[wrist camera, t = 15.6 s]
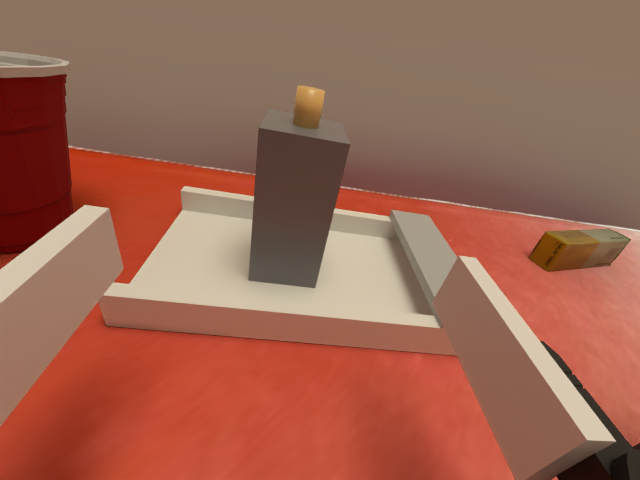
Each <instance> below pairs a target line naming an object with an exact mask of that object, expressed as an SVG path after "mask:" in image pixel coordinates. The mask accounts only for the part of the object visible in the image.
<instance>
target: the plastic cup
mask: <svg viewBox="0 0 640 480" xmlns="http://www.w3.org/2000/svg"><path fill="white" fill-rule="evenodd" d="M69 70H70V62H67V61H64V60H60V59H56V58H50V57H44V56H38V55H31V54H22V53H13V52H5V51H0V253H12V252H20V251H25V250H26V249H28V248H29V247H30V246H32V245H33V244H34V243H36V242H37V241H38V240H40V239H41V238H42V237H43V236H45V235H46V234H47V233H49V232H50V231H51V230H53V229H54V228H55V227H57V226H58V225H59V224H60V223H62V222H63V221H64V220H66V219H67V218H68V217H70V216H71V215H72V214H73V209H72V199H71V185H72V182H71V171H70V160H69V150H68V140H67V128H66V117H65V113H66V103H65V96H66V89H65V83H66V76H67V75H66V74H67V73H68V72H69Z"/></svg>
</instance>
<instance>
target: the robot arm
mask: <svg viewBox="0 0 640 480" xmlns="http://www.w3.org/2000/svg"><path fill="white" fill-rule="evenodd" d="M123 269H124V268H123V264H122V260H121V256H120V251H119V247H118V243H117V239H116V235H115V231H114V227H113V222H112V218H111V214H110V210H109V208H104V207H96V206H89V205H84V206H83V207H81V208H80V209H79V210H77V211H76V212H75V213H74V214H72V215H71V216H70V217H68V218H67V219H66V220H64V221H63V222H62V223H60V224H59V225H58V226H57V227H55V228H54V229H53V230H51V231H50V232H49V233H47V234H46V235H45V236H43V237H42V238H41V239H40V240H38V241H37V242H36V243H34V244H33V245H32V246H30V247H29V248H28V249H26V250H25V251H24V252H23V253H21V254H20V255H19V256H17V257H16V258H15V259H13V260H12V261H11V262H9V263H8V264H7V265H6V266H4V267H3V268H2V269H0V426H1V425H2V424H3V423H4V421H5V420H6V419H7V417H8V416H9V415H10V414H11V412H12V411H13V410H14V409H15V407H16V406H17V405H18V403H19V402H20V401H21V400H22V398H23V397H24V396H25V394H26V393H27V392H28V391H29V389H30V388H31V387H32V386H33V384H34V383H35V382H36V380H37V379H38V378H39V377H40V375H41V374H42V373H43V371H44V370H45V369H46V368H47V366H48V365H49V364H50V363H51V361H52V360H53V359H54V357H55V356H56V355H57V354H58V352H59V351H60V350H61V348H62V347H63V346H64V345H65V343H66V342H67V341H68V339H69V338H70V337H71V336H72V334H73V333H74V332H75V331H76V329H77V328H78V327H79V325H80V324H81V323H82V322H83V320H84V319H85V318H86V316H87V315H88V314H89V313H90V311H91V310H92V309H93V308H94V306H95V305H96V304H97V302H98V301H99V300H100V299H101V297H102V296H103V295H104V293H105V292H106V291H107V290H108V288H109V287H110V286H111V285H112V283H113V282H114V281H115V279H116V278H117V277H118V276H119V274H120V273H121V272H122V270H123ZM432 304H433V306H434V308H435V311H436V313H437V315H438V317H439V319H440V321H441V323H442V325H443V328H444V330H445V332H446V334H447V336H448V338H449V340H450V342H451V345H452V347H453V349H454V351H455V353H456V355H457V357H458V359H459V362H460V364H461V366H462V368H463V370H464V372H465V374H466V376H467V378H468V381H469V383H470V385H471V387H472V389H473V391H474V393H475V395H476V398H477V400H478V402H479V404H480V406H481V408H482V410H483V412H484V415H485V417H486V419H487V421H488V423H489V425H490V427H491V429H492V431H493V434H494V436H495V438H496V440H497V442H498V444H499V446H500V448H501V451H502V453H503V455H504V457H505V459H506V461H507V463H508V465H509V468H510V470H511V472H512V474H513V476H514V478H515V480H551V479H553V478H554V477H556V476H557V478H558V479H559V480H640V450H637V449H634V448H633V447H632V446H631V445H630V444H629V443H628V442H627V440H626V439H625V438H624V437H623V435H622V434H621V433H620V432H619V430H618V429H617V428H616V427H615V425H614V424H613V423H612V422H611V420H610V419H609V418H608V417H607V415H606V414H605V413H604V411H603V410H602V409H601V408H600V406H599V405H598V404H597V403H596V401H595V400H594V399H593V398H592V396H591V395H590V394H589V393H588V391H587V390H586V389H584V388H583V387H582V386H583V385H582V384H581V382H580V381H579V380H578V379H577V377H576V376H575V375H572V371H571V370H570V369H569V367H568V366H567V365H566V364H565V362H564V361H563V360H562V358H561V357H560V356H559V355H558V354H557V353H556V352H554V351H553V350H552V349H551V348H550V347H549V346H548V345H546V344H545V343H544V342H543V341H539V340H538V338H537V337H536V336H535V334H534V333H533V332H532V331H531V329H530V328H529V327H528V325H527V324H526V323H525V321H524V320H523V319H522V317H521V316H520V315H519V314H518V312H517V311H516V310H515V308H514V307H513V306H512V304H511V303H510V302H509V300H508V299H507V298H506V297H505V295H504V294H503V293H502V291H501V290H500V289H499V287H498V286H497V285H496V284H495V282H494V281H493V280H492V278H491V277H490V276H489V274H488V273H487V272H486V270H485V269H484V268H483V267H482V265H481V264H480V263H479V261H478V260H477V259H476V258H473V257H465V256H458V258H457V260H456V261H455V263H454V265H453V267H452V268H451V270H450V272H449V274H448V275H447V277H446V279H445V281H444V282H443V284H442V286H441V288H440V289H439V291H438V293H437V295H436V296H435V298H434V300H433V302H432Z"/></svg>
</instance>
